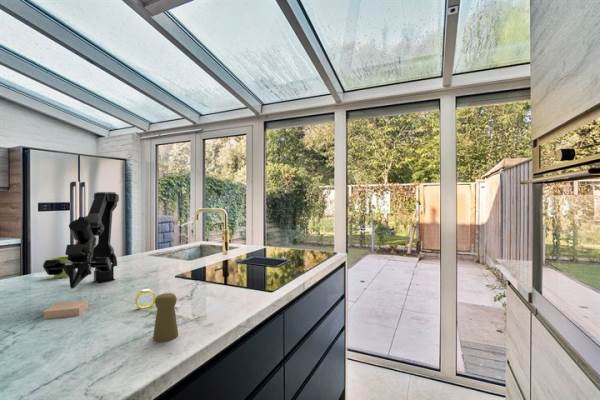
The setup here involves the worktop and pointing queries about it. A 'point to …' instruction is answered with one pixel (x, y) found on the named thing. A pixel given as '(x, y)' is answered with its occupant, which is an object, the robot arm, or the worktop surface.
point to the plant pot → (63, 275)
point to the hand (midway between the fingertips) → (72, 287)
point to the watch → (145, 292)
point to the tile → (66, 309)
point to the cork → (165, 318)
